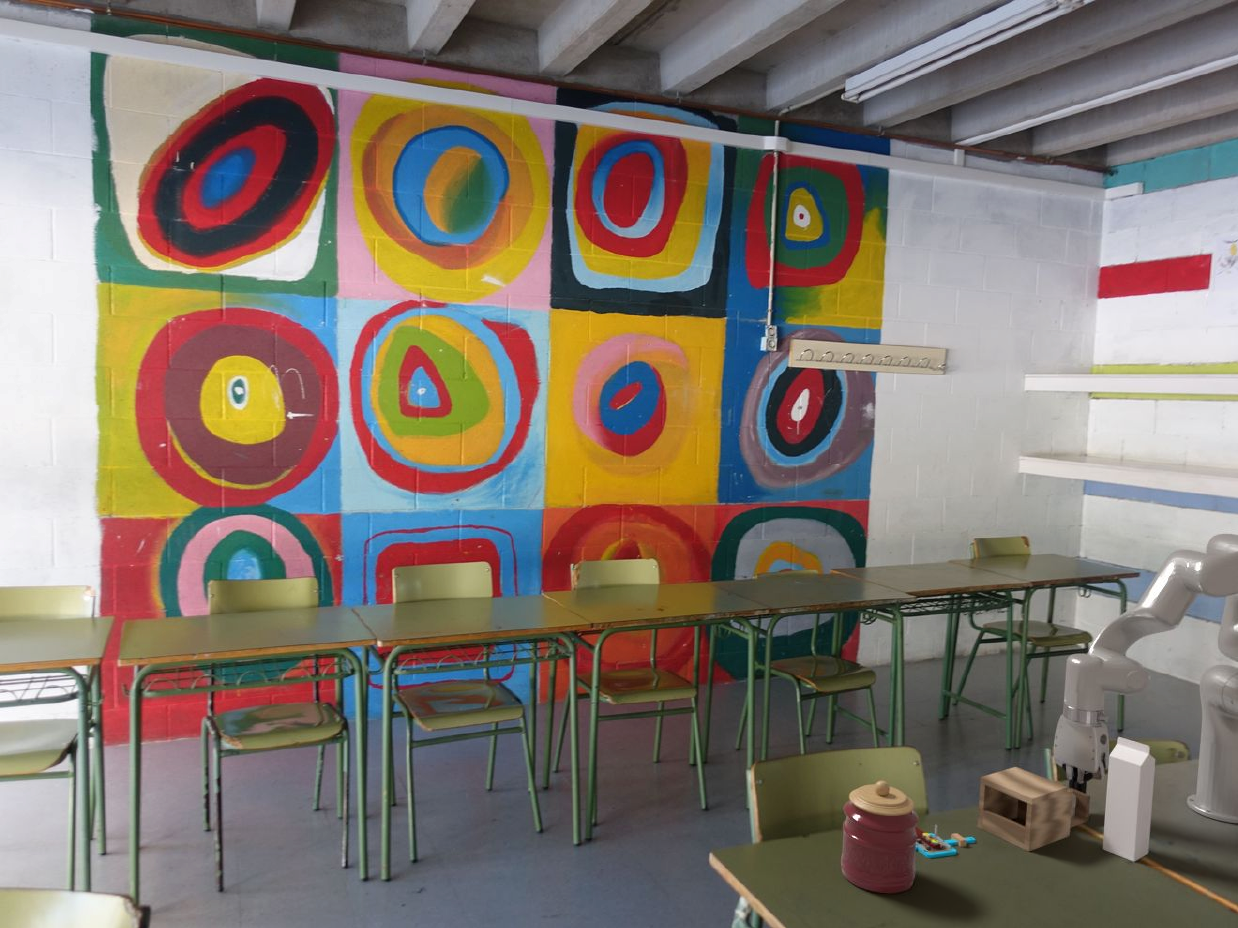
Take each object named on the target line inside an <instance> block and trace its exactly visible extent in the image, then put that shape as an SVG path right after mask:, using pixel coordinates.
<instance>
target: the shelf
mask: <svg viewBox="0 0 1238 928" xmlns="http://www.w3.org/2000/svg"><path fill="white" fill-rule="evenodd" d="M979 786H980V787H979V802H978V805H979V806H978V817H977V828H978V829H980V830H982V831H984V832H986V833H989V834H991V835H993V836H995V837H998V838H999V839H1001V840H1003V841H1005V842H1008V843H1010V844H1012V845H1014V846H1016V847H1018V848H1021V849H1022V850H1025V851H1026V852H1032V851H1034V850H1036V849H1039V848H1042V847H1044V846H1047V845H1049V844H1053V843H1055V842H1057V841H1060V840H1063V839H1066V838H1069V837H1070V835H1071V828H1070V825H1071V811H1072V797H1073V791H1072V790H1069V789H1067V787H1068V786H1067V785H1065V786H1064V785H1061V784H1058V783H1056V782H1054V780H1050V779H1048V778H1045V777H1042V776H1041V775H1037V774H1035V773H1033V772H1030V771H1028V770H1025V769H1022V768H1020V767H1017V766H1014V767H1009V768H1007V769H1004V770H1001V771H997V772H994V773H993V772H992V773H991V774H990V773H989V774H987V775H983V776H981V777H980V785H979ZM1066 786H1067V787H1066ZM1018 799H1020V800H1022V801H1024V802H1027V814H1026V826H1024V825H1022V824H1020V823H1018V822H1017V821H1013V820H1012V819H1017V809H1018Z"/></svg>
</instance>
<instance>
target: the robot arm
mask: <svg viewBox="0 0 1238 928" xmlns="http://www.w3.org/2000/svg"><path fill="white" fill-rule="evenodd" d="M1199 595H1202V596H1205V597H1208V598H1214V599H1217V598H1224V597H1226V598H1225V603H1224V609H1223V613H1222V617H1221V623H1220V628H1219V632H1218V635H1217V636H1218V637H1217V647H1218V650H1219V652H1220V653H1221V654H1222V655H1223V656H1224V657H1226V658H1229V659H1230V660H1232V661H1235V662H1237V663H1238V534H1232V533H1220V534H1216V535H1214V536H1212V537H1211V538H1210V539H1209V540H1208V542H1207V544H1206V553H1205V552H1201V551H1196V550H1193V549H1192V550H1191V549H1178V550H1175V551H1173V552H1172V553H1170V554H1169V555H1168V556H1167V558H1166V559H1165V561H1164V562H1163V563H1162V564H1161V567H1160V568H1159V569H1158V571H1157V572H1156V574H1155V576H1154V577H1153V579H1152V581H1151V582H1150V584H1149V585H1148V587H1147V588H1146V590H1145V592H1144V593H1143V595H1142V596H1141V598H1140V599H1139V601H1138V602H1137V604H1136V605H1135V606H1133V607H1132V608H1130V609H1129V610H1126V611H1125V612H1124V613H1121V614H1120V615H1119V616H1117V617H1116V618H1114V619H1113V620H1111V621H1110V622H1109V623H1108V624H1106V625H1105V626H1104V628H1102V629H1101V631H1100V632H1099V634H1098V635H1097V637H1096V638H1095V639H1094V641H1093V642H1092V644H1091V646H1090V648H1089V650H1088V651H1087V653H1073V654H1071V655H1069V656H1068V658H1067V659H1066V666H1065V668H1066V669H1065V679H1064V680H1065V681H1064V692H1063V693H1064V695H1063V697H1064V698H1063V710H1062V714H1061V715H1059V716H1060V717H1059V719H1058V721H1057V725H1056V730H1055V734H1054V743H1053V756H1054V759H1053V762H1054V763H1055V764H1056V765H1058V766H1059V767H1060V768H1062V769H1063V771H1064V772H1065V774H1066V778H1067V779H1068V781H1069V782H1068V787H1069V788H1072V789H1075V790H1077V791H1080V792H1082V793H1085V794H1087V789H1088V788H1087V787H1088V782H1089V781H1091V780H1099V781H1100V780H1104V779H1105V778H1106V775H1105V771H1106V770H1108V769H1109V756H1110V740H1109V732H1108V727H1107V724H1106V723H1108V722H1109V716H1108V715H1105V710H1104V707H1105V706H1104V705H1105V694H1106V693H1110V694H1116V695H1117V694H1118V695H1121V696H1122V695H1123V696H1136V695H1139V694H1141V693H1143V692H1144V691H1146V690H1147V689H1148V688H1149V686H1150V683H1151V676H1150V673H1149V671H1148V670H1147V668H1146V667H1145V665H1143V664H1142V663H1140V662H1139V661H1137V660H1135V659H1132V658H1130V657H1128V656H1126V653H1127V652H1128V650H1129V649H1130V648H1131V647H1132V646H1133V645H1134V644H1135V643H1136V642H1137V641H1139V640H1141V639H1142V638H1144V637H1147V636H1151V635H1155V634H1159V633H1164V632H1168V631H1172V630H1173V631H1174V630H1175V629H1176V628H1178V627H1179V625H1180V624H1181V622H1182V621H1183V619H1184V618H1185V616H1186V614H1187V613H1188V612H1189V609H1190V608H1191V607H1192V605H1193V604H1194V602H1195V600H1197V598H1198V596H1199ZM1199 696H1200V703H1201V715H1202V716H1201V717H1202V719H1201V730H1200V731H1201V733H1200V746H1199V753H1198V754H1199V755H1198V756H1199V757H1198V766H1197V767H1198V769H1197V770H1198V771H1197V778H1196V779H1197V783H1196V793H1194V794H1191V795H1189V796H1188V797H1187V800H1186V803H1187V806H1188V807H1189V809H1191V810H1193V811H1194V812H1196V813H1198V814H1200V815H1202V816H1204V817H1207V818H1210V819H1214V820H1216V821H1220V822H1225V823H1230V824H1238V667H1236V666H1233V665H1229V664H1217V665H1213V666H1211V667H1209V668H1207V669H1206V670H1205V672H1204V673H1203V674H1202V675H1201V677H1200V682H1199Z"/></svg>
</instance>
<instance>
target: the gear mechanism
mask: <svg viewBox="0 0 1238 928" xmlns="http://www.w3.org/2000/svg"><path fill="white" fill-rule="evenodd" d="M915 832H916V834H917V842H916V851H918V852H919V853H921V855H923V856H925V857H926V858H927V859H935V858H941V857H948V856H949V857H950V856H955V855H957V849H956V848H954V847H953V846H959V847H961V848H963V847H967V844H973V843H976V840H977V839H976V838H974V837H973V836H967V837H963V836H962V835H960V834H959V833H951V836H950V839H946V840H945V839H942V838H941V837H940V836H939V835H938V825H937V824H935V825H934V833H932V832H930V833H928V832H924V831H923V830H922V829H920V828H919V827H918V826H917V827H916V826H915ZM940 849H941V850H940Z"/></svg>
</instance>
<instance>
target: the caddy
mask: <svg viewBox="0 0 1238 928" xmlns="http://www.w3.org/2000/svg"><path fill="white" fill-rule="evenodd" d="M1053 782H1056V783H1058V784H1061V785H1064V786H1066V787H1067V789H1069V790H1072V791H1073V797H1072V811H1071V825H1070V829H1072V828H1074V827H1076V826H1079V825H1082V824H1085V823H1087V822H1086V821H1088V822H1089V816H1090V814H1089V813H1090V804H1091V802H1090V801H1091V795H1090V794H1087V793H1086V794H1085V793H1082V792H1080V791H1077V790H1075V789H1072V788H1069V786H1067V785H1066V783H1062V782H1060V781H1057V780H1053ZM1026 814H1027V802H1024V801H1022V800H1020V799H1018V809H1017V817H1016V823H1018V824H1020V825H1023V826H1025V827H1026ZM1084 822H1085V823H1084Z"/></svg>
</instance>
